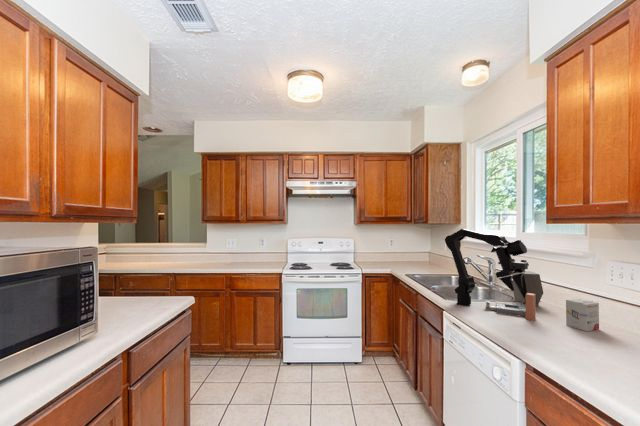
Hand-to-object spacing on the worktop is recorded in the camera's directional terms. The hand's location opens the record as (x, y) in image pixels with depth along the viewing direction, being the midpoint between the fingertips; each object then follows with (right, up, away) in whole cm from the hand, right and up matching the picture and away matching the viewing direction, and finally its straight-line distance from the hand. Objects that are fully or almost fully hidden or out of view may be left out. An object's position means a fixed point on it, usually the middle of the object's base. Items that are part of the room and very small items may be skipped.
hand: (517, 289), depth 152 cm
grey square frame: (+3, -14, +10) cm, 17 cm away
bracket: (-6, -14, +13) cm, 19 cm away
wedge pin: (+5, -14, -2) cm, 15 cm away
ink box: (+21, -14, -13) cm, 28 cm away
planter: (+23, -14, +27) cm, 38 cm away
